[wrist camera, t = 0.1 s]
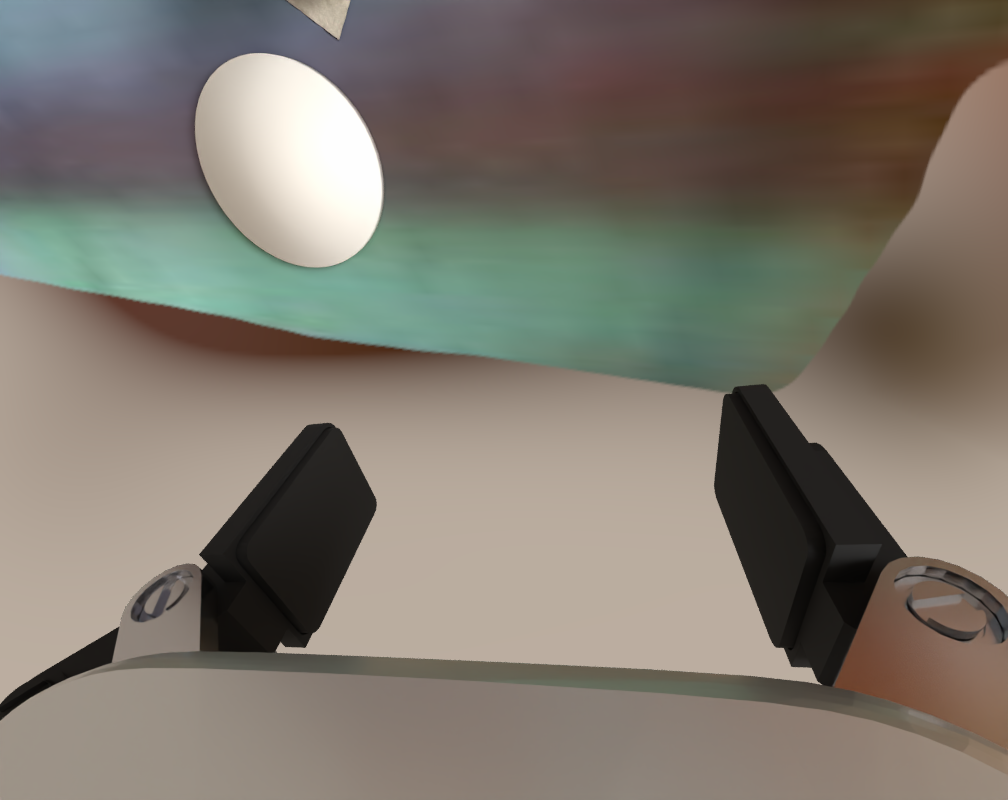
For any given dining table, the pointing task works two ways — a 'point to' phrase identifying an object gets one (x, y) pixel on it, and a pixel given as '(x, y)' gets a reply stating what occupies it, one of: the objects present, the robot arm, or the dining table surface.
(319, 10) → the condiment
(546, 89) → the dining table surface
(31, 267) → the dining table surface
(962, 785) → the robot arm
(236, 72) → the plate
